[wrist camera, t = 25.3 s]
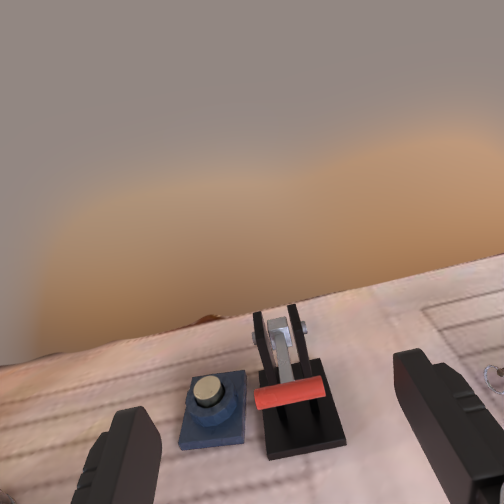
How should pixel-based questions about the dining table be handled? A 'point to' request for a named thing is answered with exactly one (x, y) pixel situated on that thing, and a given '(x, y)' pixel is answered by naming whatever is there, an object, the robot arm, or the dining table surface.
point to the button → (208, 391)
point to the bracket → (299, 413)
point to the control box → (216, 415)
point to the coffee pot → (500, 372)
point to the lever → (286, 373)
